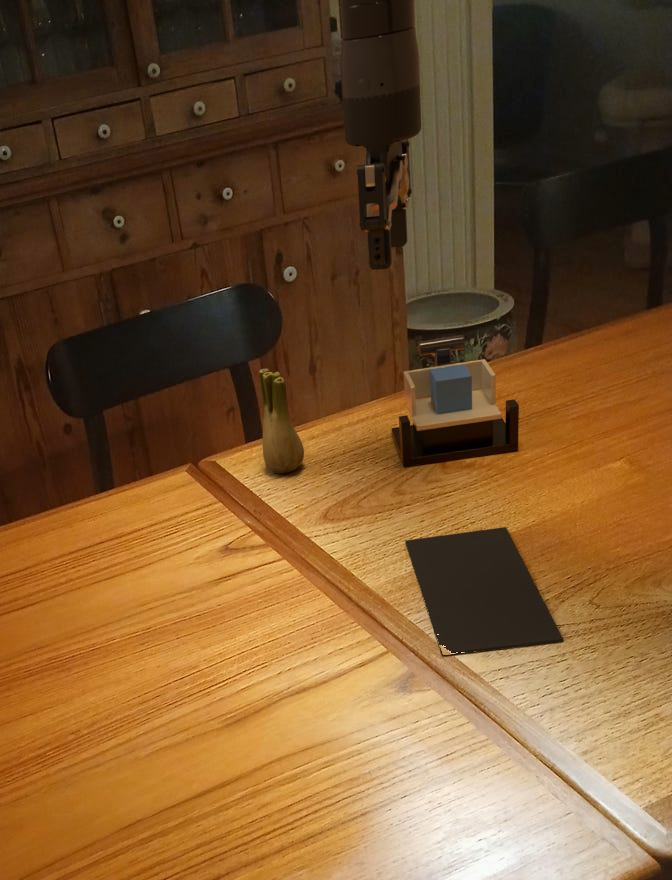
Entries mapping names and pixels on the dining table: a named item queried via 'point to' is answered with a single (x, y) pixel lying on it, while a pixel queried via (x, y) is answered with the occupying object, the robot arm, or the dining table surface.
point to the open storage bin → (420, 388)
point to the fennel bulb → (278, 426)
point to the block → (451, 389)
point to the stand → (457, 439)
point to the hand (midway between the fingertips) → (389, 256)
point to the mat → (480, 592)
